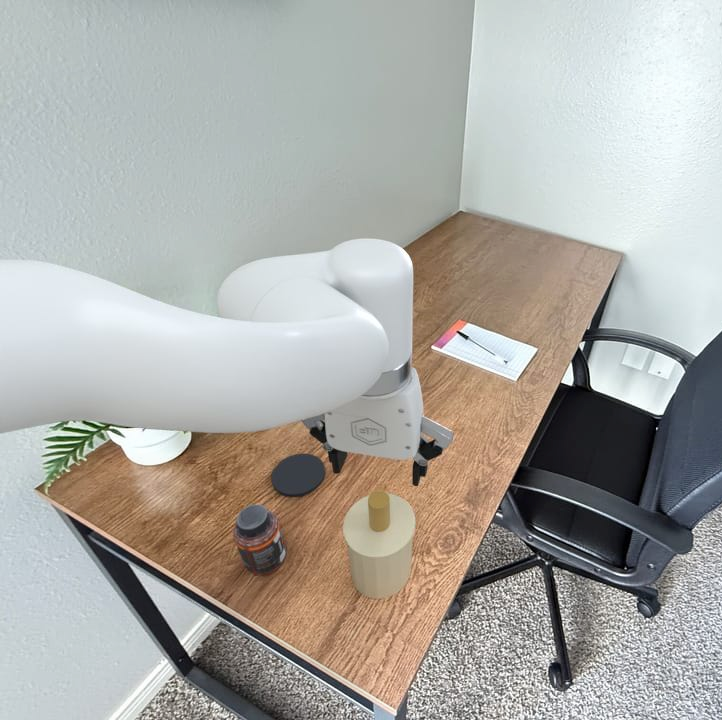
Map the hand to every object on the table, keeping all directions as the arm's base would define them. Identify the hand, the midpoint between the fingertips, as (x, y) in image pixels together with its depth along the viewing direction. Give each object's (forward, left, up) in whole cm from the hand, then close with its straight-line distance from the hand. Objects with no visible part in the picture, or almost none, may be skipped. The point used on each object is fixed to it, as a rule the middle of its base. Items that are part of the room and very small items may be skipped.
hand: (379, 470), depth 57 cm
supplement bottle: (-17, +5, -24) cm, 30 cm away
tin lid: (0, 0, -12) cm, 12 cm away
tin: (0, 0, -24) cm, 24 cm away
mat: (-13, +20, -24) cm, 34 cm away
